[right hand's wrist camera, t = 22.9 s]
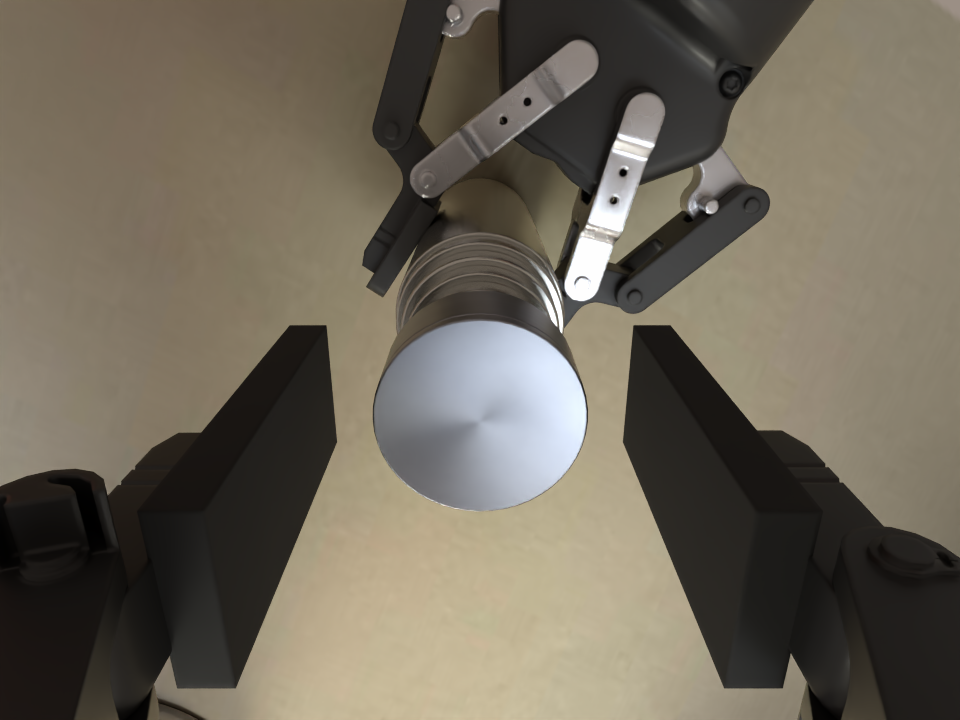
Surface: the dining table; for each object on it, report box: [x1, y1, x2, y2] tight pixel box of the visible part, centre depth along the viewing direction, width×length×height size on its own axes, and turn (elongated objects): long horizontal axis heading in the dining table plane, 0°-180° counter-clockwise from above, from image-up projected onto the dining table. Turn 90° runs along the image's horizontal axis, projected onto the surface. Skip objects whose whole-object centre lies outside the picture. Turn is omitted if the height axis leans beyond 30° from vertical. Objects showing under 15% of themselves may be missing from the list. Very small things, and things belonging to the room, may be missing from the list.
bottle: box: [396, 178, 565, 335], centre depth 21 cm, size 5×5×18 cm
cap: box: [373, 291, 588, 511], centre depth 13 cm, size 4×4×2 cm
